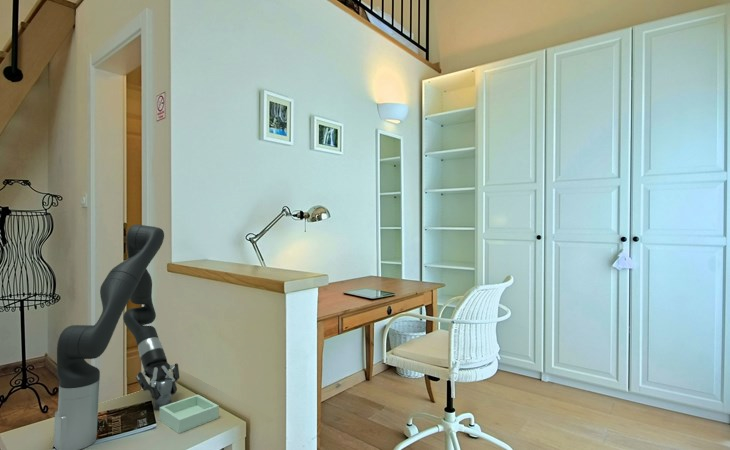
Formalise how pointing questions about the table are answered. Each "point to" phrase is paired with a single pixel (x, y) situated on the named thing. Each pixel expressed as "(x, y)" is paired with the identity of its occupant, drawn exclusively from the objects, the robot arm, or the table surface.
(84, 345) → the robot arm
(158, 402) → the metal tin
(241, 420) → the table surface
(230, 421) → the table surface
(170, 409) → the tray
